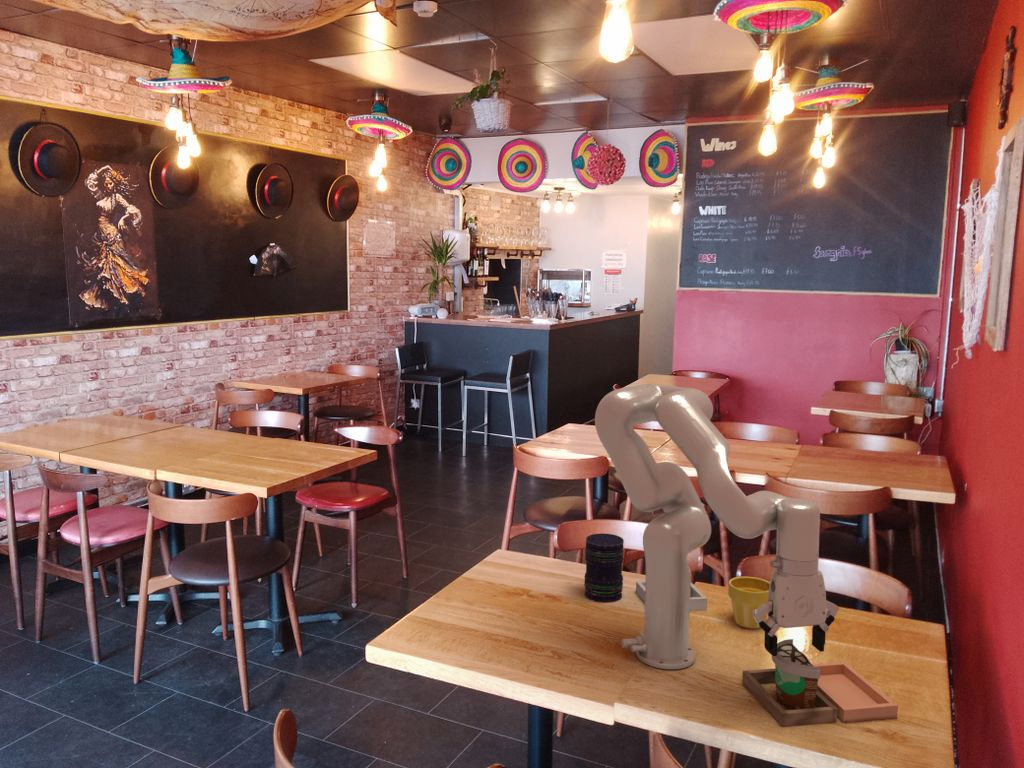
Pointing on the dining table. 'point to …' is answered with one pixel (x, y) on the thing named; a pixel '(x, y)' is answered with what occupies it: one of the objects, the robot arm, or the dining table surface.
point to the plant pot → (747, 599)
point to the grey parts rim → (696, 600)
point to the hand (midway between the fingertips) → (794, 650)
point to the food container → (794, 677)
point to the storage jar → (604, 568)
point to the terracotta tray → (853, 694)
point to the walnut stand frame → (785, 718)
